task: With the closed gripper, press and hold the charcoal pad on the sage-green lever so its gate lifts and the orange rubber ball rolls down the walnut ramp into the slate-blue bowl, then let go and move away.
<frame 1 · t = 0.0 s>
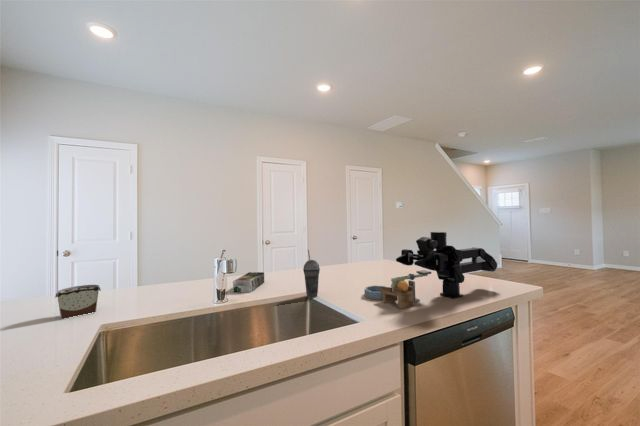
hand: (405, 261, 98), 17 cm above the worktop, tool horizontal, fingers open, 9 cm apart
food container: (78, 314, 98), on the worktop
ball: (402, 286, 99), point 7 cm above the worktop, tilted 6°, touching lever, ramp
ramp: (396, 303, 102), on the worktop
juice carton: (249, 288, 132), on the worktop
lever post: (412, 300, 104), on the worktop
bowl: (378, 296, 111), on the worktop
lever: (410, 280, 104), point 8 cm above the worktop, hinge at 0.0°, touching ball
beverage cup: (312, 296, 113), on the worktop
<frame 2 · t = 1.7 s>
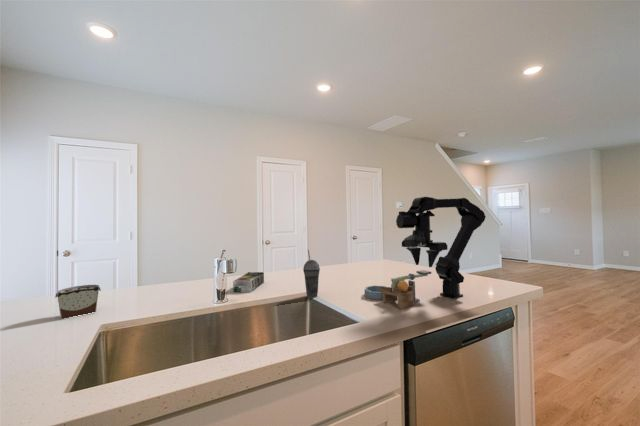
hand: (423, 266, 107), 13 cm above the worktop, tool pointing down, fingers open, 6 cm apart
nothing on the worktop moved.
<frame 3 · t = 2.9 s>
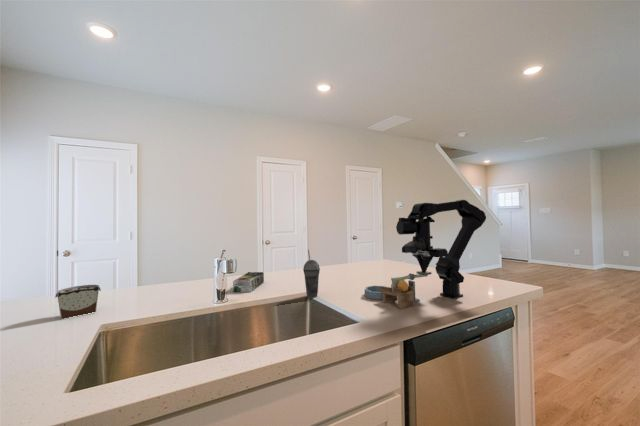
hand: (423, 272, 107), 11 cm above the worktop, tool pointing down, fingers closed, pressing on lever
ball: (402, 286, 99), point 7 cm above the worktop, tilted 5°, touching ramp
lever: (410, 280, 104), point 8 cm above the worktop, hinge at 1.4°, touching gripper
everything else where it was.
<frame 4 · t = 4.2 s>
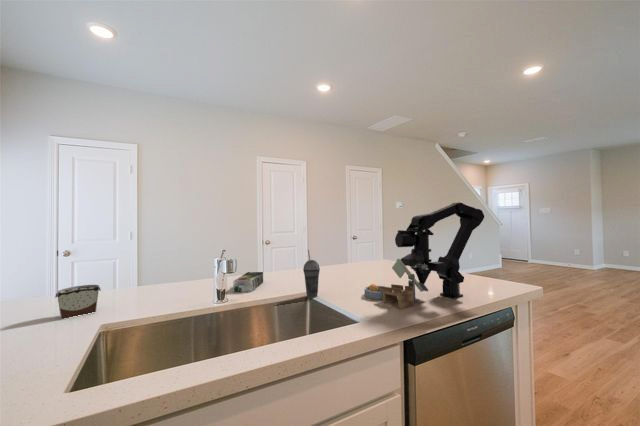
hand: (422, 285, 107), 5 cm above the worktop, tool pointing down, fingers closed, pressing on lever
ball: (373, 288, 113), point 3 cm above the worktop, tilted 164°, touching bowl
lever: (408, 278, 103), point 9 cm above the worktop, hinge at 47.8°, touching gripper
everything else where it was.
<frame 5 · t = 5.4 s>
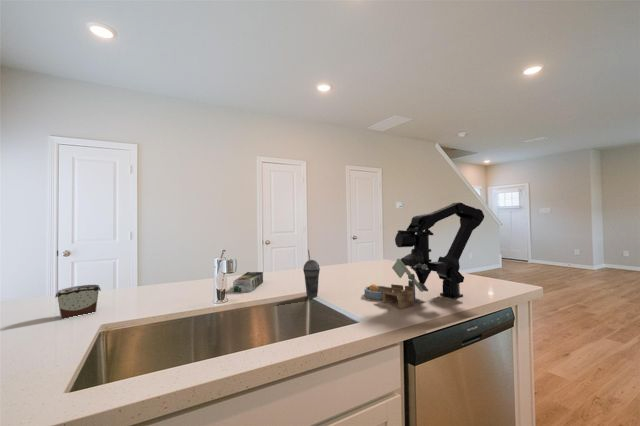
hand: (422, 285, 107), 5 cm above the worktop, tool pointing down, fingers closed, pressing on lever
ball: (373, 289, 113), point 3 cm above the worktop, tilted 153°, touching bowl
lever: (408, 278, 103), point 9 cm above the worktop, hinge at 48.1°, touching gripper
everything else where it was.
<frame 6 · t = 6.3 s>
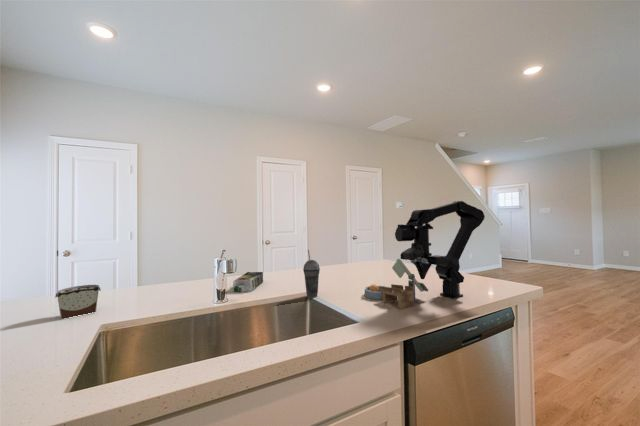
hand: (422, 279, 107), 8 cm above the worktop, tool pointing down, fingers closed
ball: (373, 289, 113), point 3 cm above the worktop, tilted 145°, touching bowl
lever: (408, 278, 103), point 9 cm above the worktop, hinge at 47.8°
everything else where it was.
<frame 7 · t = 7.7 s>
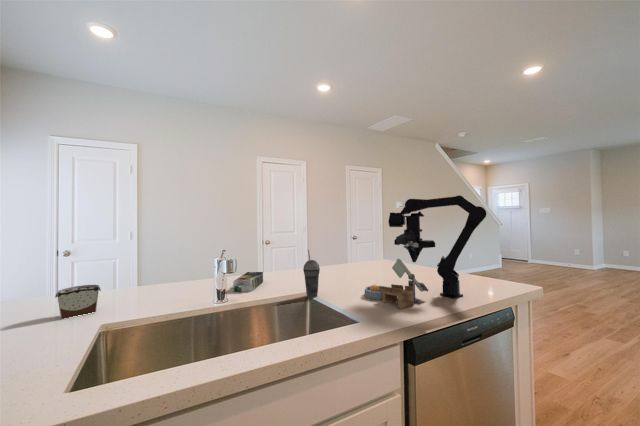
hand: (414, 262, 117), 13 cm above the worktop, tool pointing down, fingers closed
ball: (374, 289, 112), point 3 cm above the worktop, tilted 131°, touching bowl
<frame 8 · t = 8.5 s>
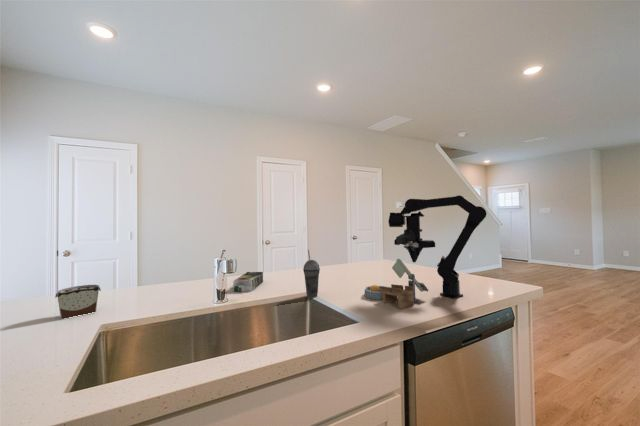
hand: (414, 262, 117), 13 cm above the worktop, tool pointing down, fingers closed
ball: (374, 289, 112), point 3 cm above the worktop, tilted 124°, touching bowl
at the end: ball inside the target area on the bowl (1.3 cm from its centre), point 2.6 cm above the bowl's base; ball touching bowl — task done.
